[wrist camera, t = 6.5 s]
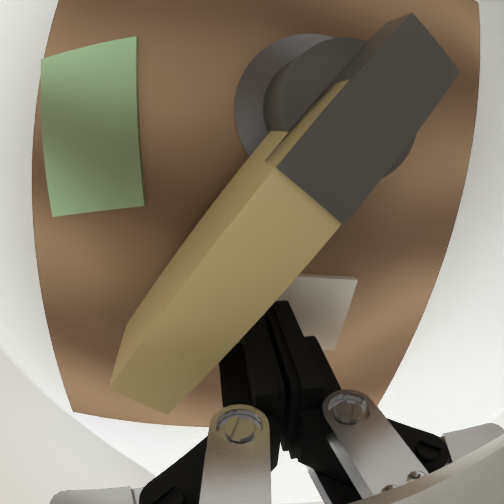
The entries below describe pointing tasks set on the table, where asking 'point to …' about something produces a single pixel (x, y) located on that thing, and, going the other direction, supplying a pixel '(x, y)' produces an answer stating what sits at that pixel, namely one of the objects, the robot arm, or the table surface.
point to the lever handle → (283, 201)
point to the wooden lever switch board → (224, 179)
